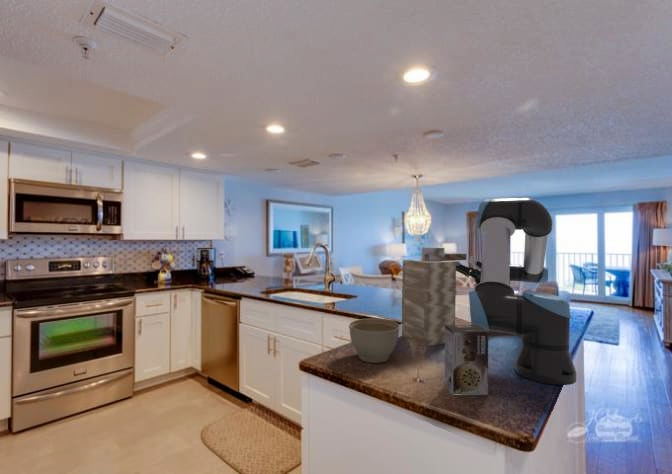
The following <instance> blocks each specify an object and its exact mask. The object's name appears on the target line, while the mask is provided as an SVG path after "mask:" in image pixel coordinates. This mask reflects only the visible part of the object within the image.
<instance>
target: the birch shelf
mask: <svg viewBox="0 0 672 474" xmlns="http://www.w3.org/2000/svg"><path fill="white" fill-rule="evenodd" d="M460 264H461V261H460V260H455V261H449V260H447V261H424V260H422V258H421V259H419V258H418V259H402V290H401V291H402V295H401V296H402V297H401V300H402V301H401V337H404V338H406V339H408V340H410V341H412V342H415V343H416V344H417V343H418V344H420V345H422V346H425V347H430V346H436V345H441V344H445V325H456V296H457V295H456V293H457V291H456V288H457V287H456V286H457V285H456V284H457V271H456V266H460Z"/></svg>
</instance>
